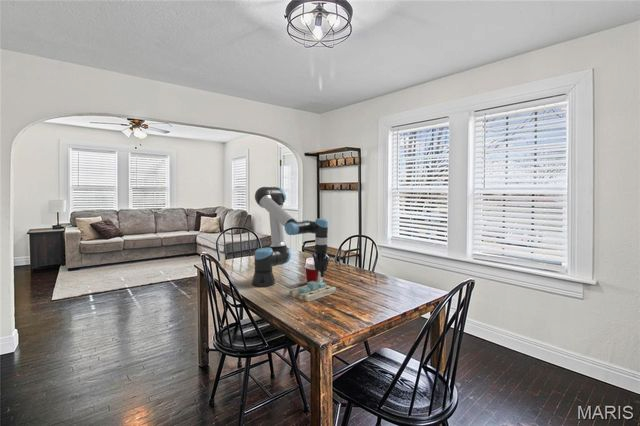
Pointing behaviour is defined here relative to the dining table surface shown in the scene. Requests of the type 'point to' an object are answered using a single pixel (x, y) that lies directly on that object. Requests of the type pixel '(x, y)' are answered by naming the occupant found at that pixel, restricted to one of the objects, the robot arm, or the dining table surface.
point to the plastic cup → (311, 273)
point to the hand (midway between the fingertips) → (320, 281)
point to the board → (312, 293)
